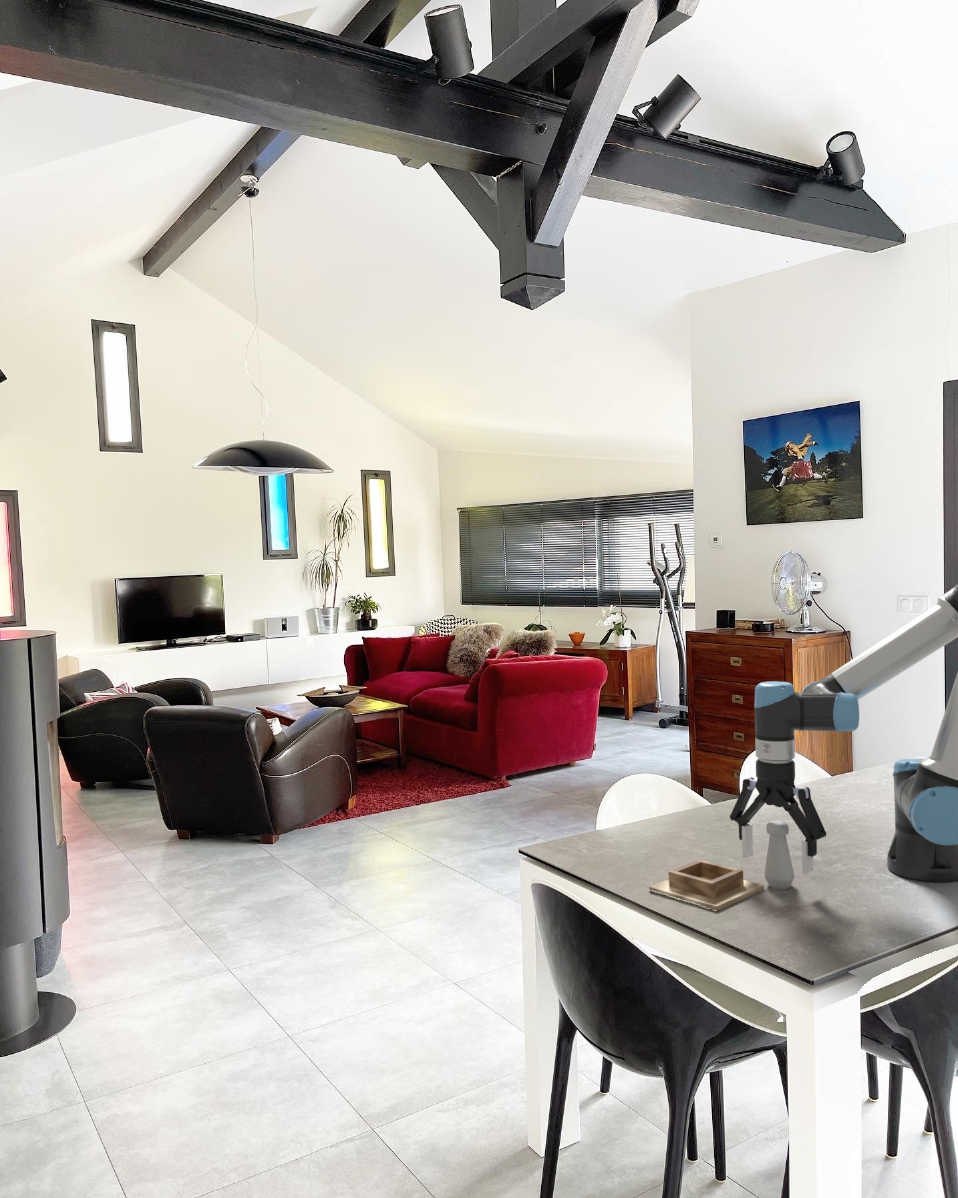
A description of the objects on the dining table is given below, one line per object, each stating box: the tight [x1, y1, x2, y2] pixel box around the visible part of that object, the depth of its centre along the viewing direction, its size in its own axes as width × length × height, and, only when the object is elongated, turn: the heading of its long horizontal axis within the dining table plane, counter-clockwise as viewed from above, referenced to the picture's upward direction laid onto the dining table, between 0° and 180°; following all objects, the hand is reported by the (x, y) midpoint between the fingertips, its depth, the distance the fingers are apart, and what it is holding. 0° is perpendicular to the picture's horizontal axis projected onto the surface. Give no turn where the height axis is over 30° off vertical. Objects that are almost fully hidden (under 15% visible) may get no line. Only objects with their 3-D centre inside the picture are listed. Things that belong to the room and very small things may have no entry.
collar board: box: [648, 859, 765, 911], centre depth 186 cm, size 16×16×4 cm
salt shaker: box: [763, 820, 795, 890], centre depth 187 cm, size 6×6×13 cm
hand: (777, 864), depth 187 cm, fingers open, 13 cm apart
